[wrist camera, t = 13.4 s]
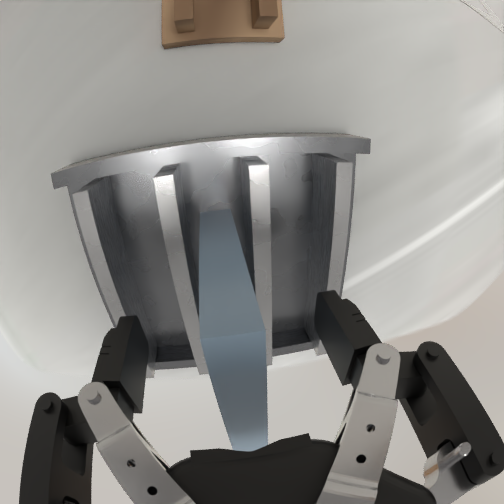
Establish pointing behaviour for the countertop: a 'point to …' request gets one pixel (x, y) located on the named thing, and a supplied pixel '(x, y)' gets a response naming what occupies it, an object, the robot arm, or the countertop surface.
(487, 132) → the countertop surface
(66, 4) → the countertop surface
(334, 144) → the dish rack
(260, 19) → the plate stand
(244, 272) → the plate
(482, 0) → the scissors
